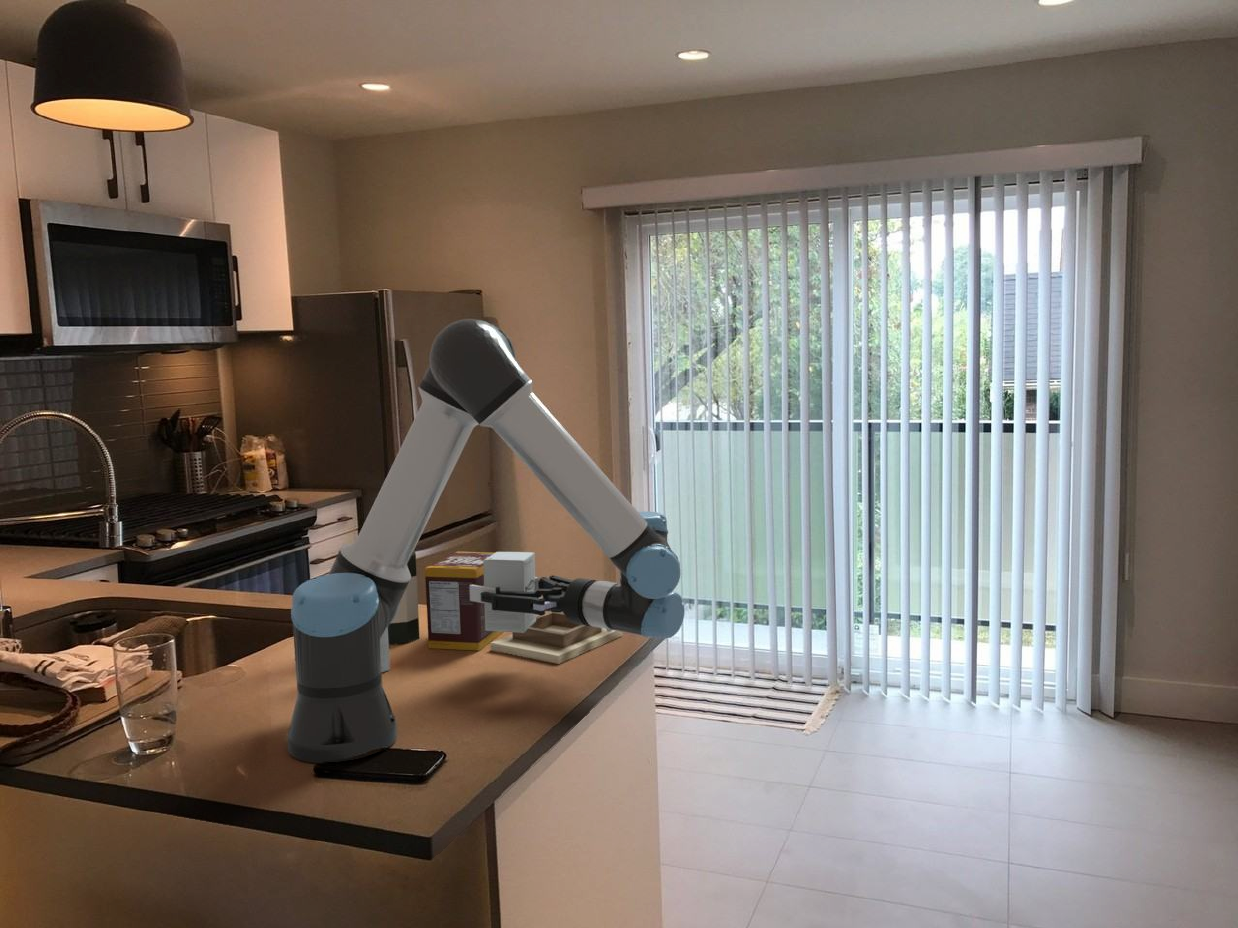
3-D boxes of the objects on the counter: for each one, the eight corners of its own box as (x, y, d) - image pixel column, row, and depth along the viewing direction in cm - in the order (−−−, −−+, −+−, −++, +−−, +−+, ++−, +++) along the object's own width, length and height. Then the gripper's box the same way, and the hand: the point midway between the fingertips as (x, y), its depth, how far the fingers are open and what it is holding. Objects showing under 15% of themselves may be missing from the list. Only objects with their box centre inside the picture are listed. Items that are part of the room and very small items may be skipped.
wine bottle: (426, 632, 198) (419, 482, 195) (412, 644, 190) (404, 488, 187) (386, 631, 199) (378, 482, 196) (370, 644, 191) (362, 488, 188)
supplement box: (508, 628, 200) (505, 551, 198) (479, 651, 185) (475, 569, 183) (460, 626, 202) (457, 550, 201) (427, 648, 188) (423, 567, 186)
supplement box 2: (525, 633, 170) (523, 560, 168) (483, 631, 171) (481, 559, 170) (537, 621, 177) (535, 551, 175) (497, 620, 178) (495, 550, 177)
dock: (558, 664, 176) (558, 642, 176) (490, 650, 185) (489, 629, 185) (622, 635, 193) (621, 615, 192) (556, 624, 202) (556, 605, 201)
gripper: (553, 642, 155) (447, 622, 167) (631, 610, 173) (530, 594, 185) (552, 595, 154) (445, 578, 166) (631, 568, 172) (529, 554, 184)
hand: (490, 586), depth 176 cm, fingers closed on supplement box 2, 9 cm apart
